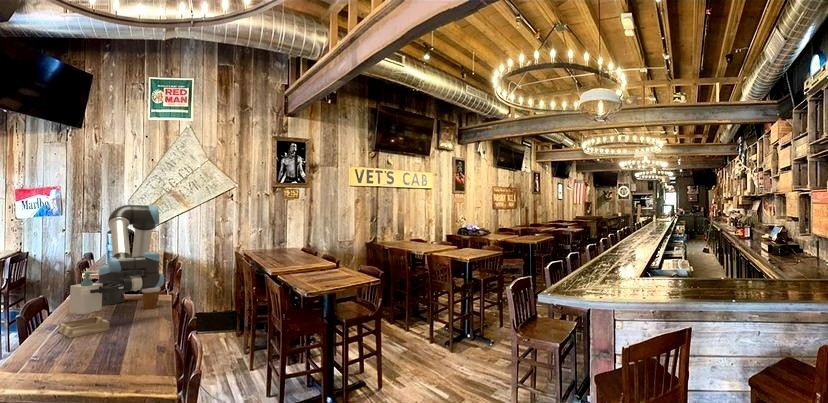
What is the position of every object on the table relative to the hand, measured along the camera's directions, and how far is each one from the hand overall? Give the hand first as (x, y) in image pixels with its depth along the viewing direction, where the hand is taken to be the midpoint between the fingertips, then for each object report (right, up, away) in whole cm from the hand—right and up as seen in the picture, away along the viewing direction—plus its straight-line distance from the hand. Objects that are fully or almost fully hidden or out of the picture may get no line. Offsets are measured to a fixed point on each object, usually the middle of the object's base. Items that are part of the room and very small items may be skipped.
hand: (76, 290), depth 185 cm
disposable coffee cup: (+4, -21, +46) cm, 50 cm away
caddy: (+1, -20, +3) cm, 20 cm away
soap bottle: (+2, -11, +3) cm, 11 cm away
